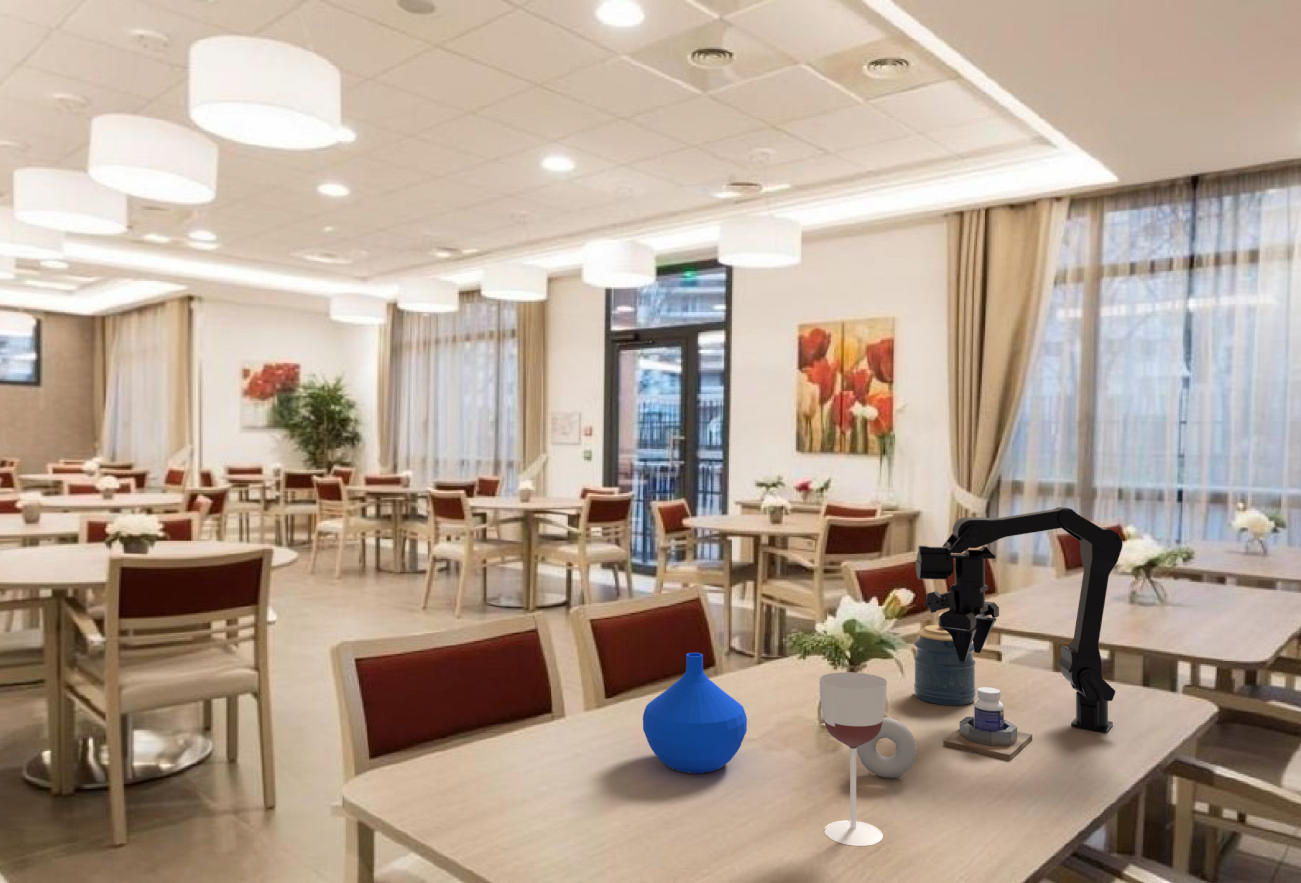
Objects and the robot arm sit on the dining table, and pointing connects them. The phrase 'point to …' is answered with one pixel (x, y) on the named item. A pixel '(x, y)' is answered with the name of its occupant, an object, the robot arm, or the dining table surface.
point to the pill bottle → (988, 710)
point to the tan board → (994, 751)
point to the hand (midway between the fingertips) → (970, 657)
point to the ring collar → (988, 733)
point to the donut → (902, 756)
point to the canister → (942, 669)
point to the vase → (694, 722)
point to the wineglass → (853, 737)
